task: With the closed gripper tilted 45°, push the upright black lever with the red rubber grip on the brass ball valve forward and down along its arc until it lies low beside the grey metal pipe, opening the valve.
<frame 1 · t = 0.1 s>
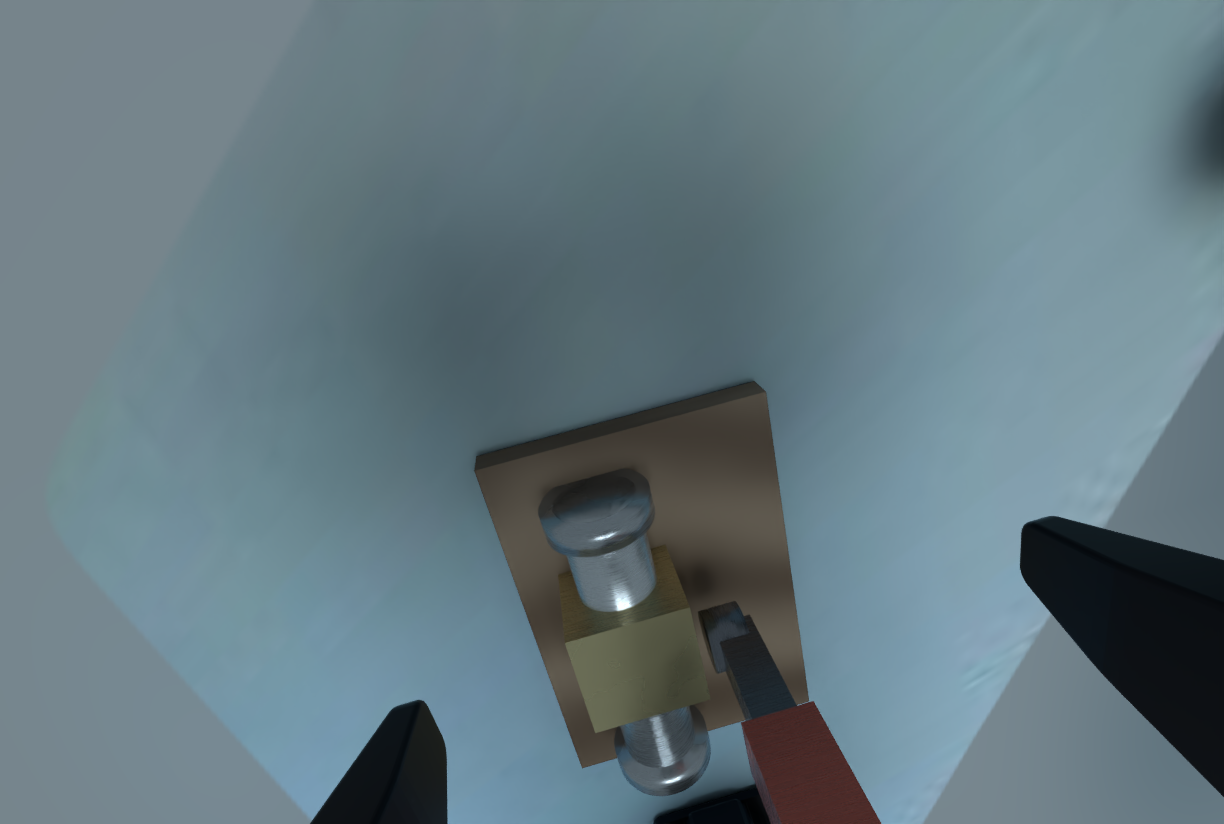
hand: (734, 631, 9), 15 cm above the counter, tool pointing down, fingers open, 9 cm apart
mounting board: (700, 561, 26), on the counter
valve body: (633, 640, 24), point 3 cm above the counter
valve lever: (779, 732, 18), point 9 cm above the counter, hinge at 0.0°
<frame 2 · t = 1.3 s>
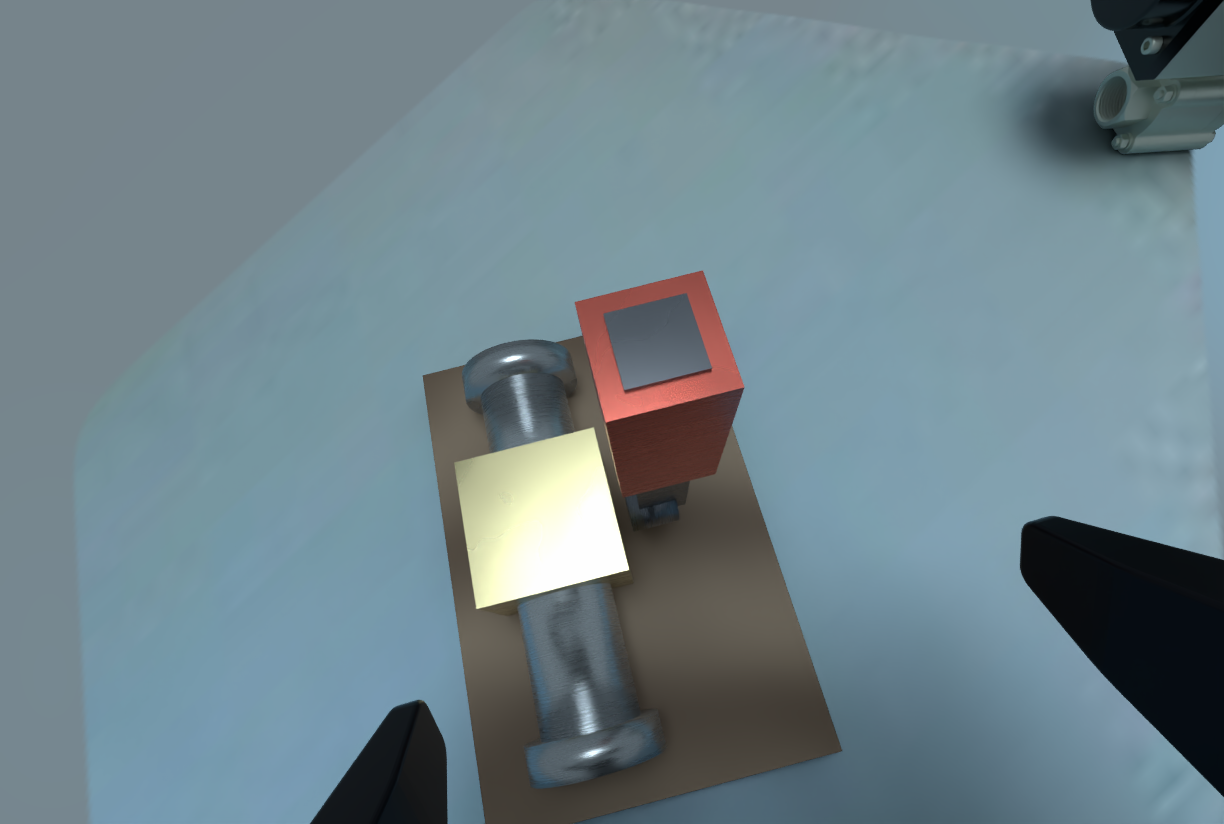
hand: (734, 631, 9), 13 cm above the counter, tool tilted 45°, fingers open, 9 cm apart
pneumatic valve: (1139, 123, 28), on the counter
mounting board: (656, 517, 23), on the counter
valve body: (552, 542, 20), point 3 cm above the counter
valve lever: (656, 444, 15), point 9 cm above the counter, hinge at 0.0°
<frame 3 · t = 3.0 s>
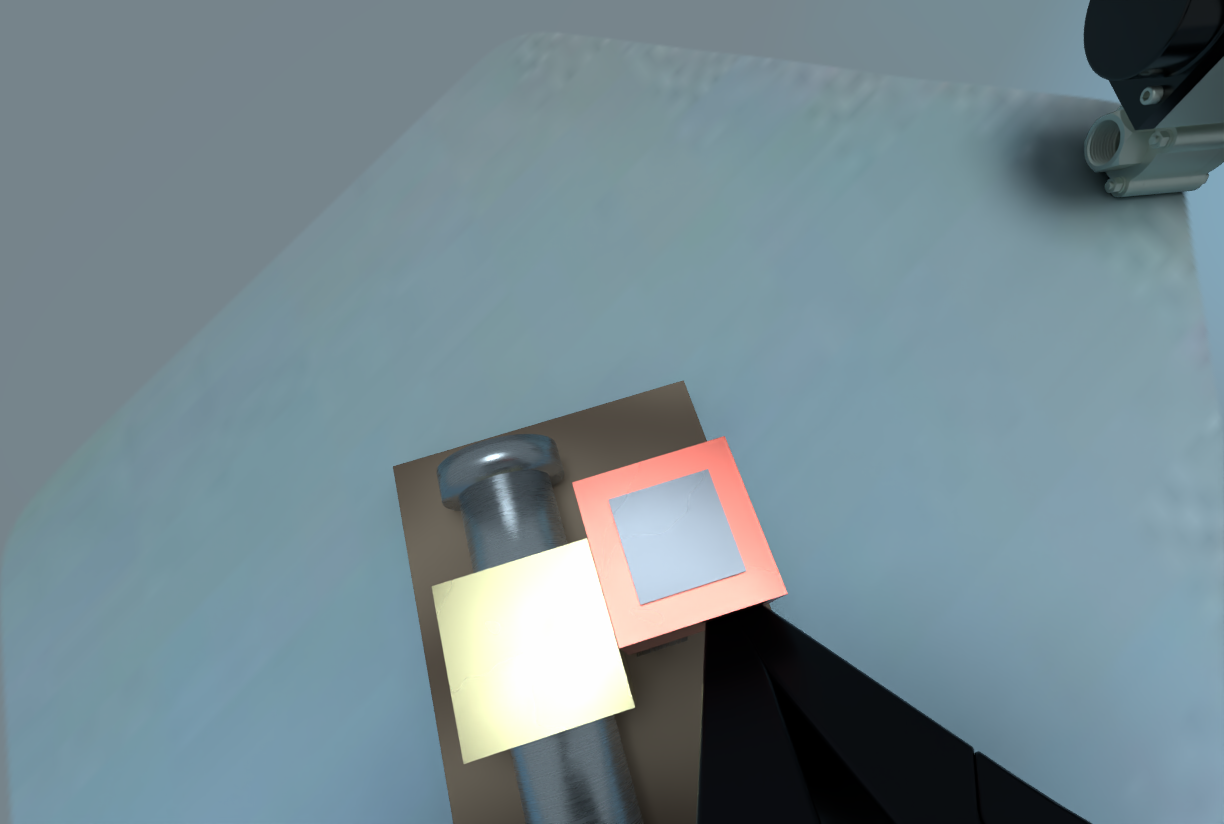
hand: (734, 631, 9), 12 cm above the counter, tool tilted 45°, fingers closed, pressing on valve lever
pneumatic valve: (1129, 163, 27), on the counter
mounting board: (656, 614, 21), on the counter
valve body: (545, 663, 18), point 3 cm above the counter
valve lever: (664, 584, 13), point 9 cm above the counter, hinge at 0.6°, touching gripper
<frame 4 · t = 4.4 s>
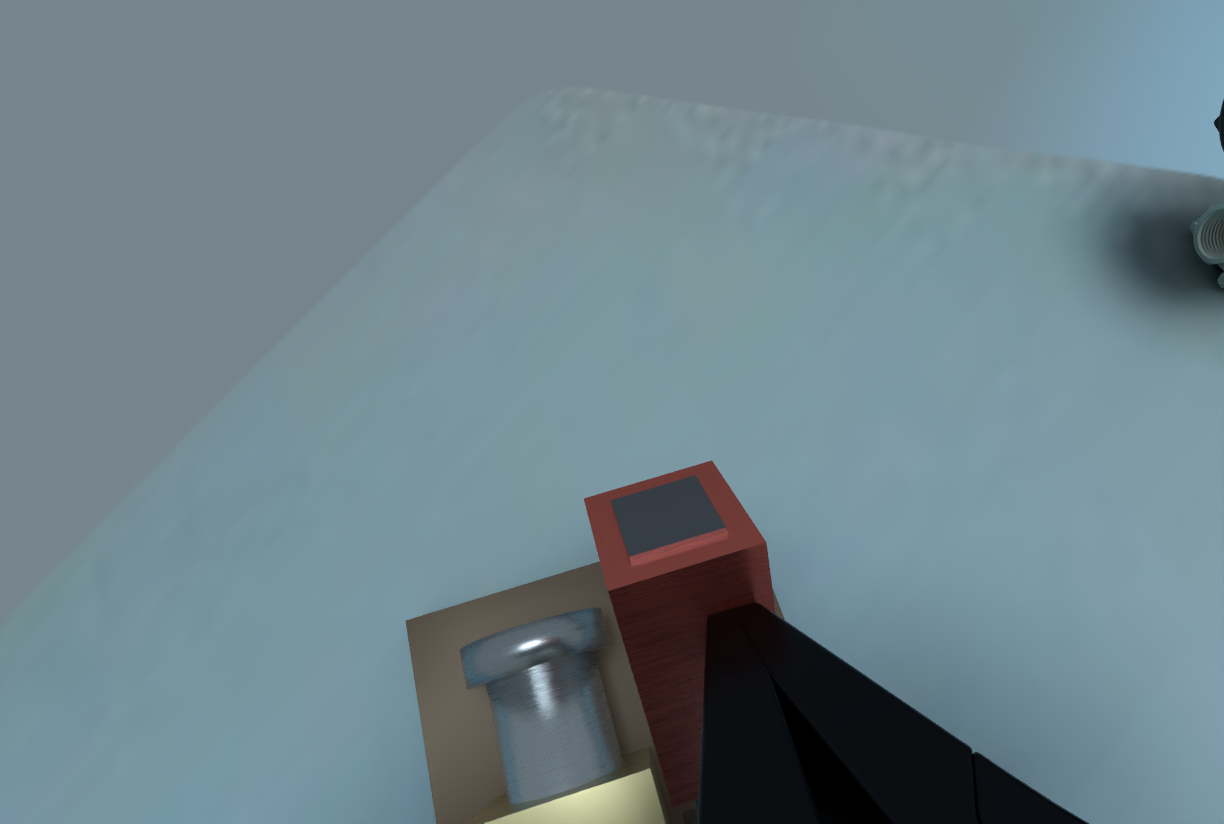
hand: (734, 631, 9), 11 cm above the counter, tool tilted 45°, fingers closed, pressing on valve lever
mounting board: (718, 810, 18), on the counter
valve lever: (715, 736, 11), point 8 cm above the counter, hinge at 40.6°, touching gripper
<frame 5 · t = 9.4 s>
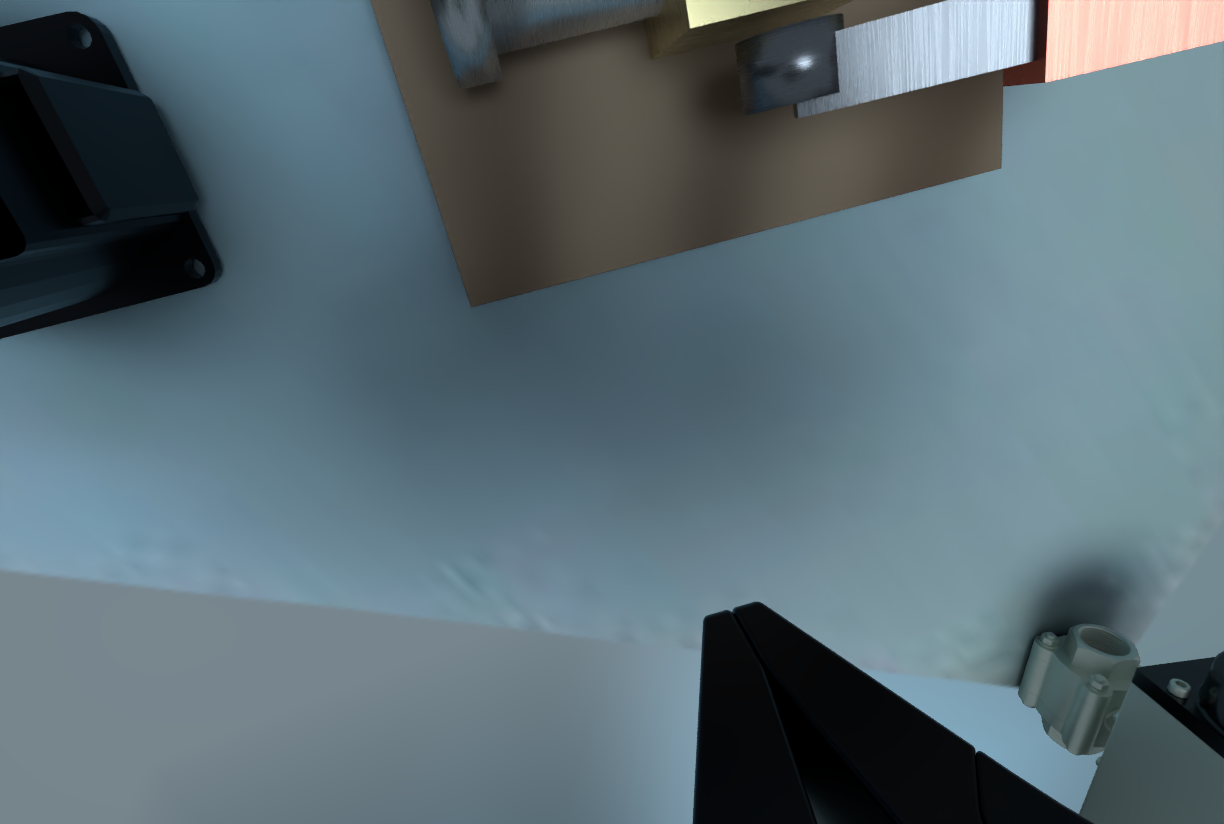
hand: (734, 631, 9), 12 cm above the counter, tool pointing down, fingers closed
pneumatic valve: (1059, 655, 28), on the counter
mounting board: (726, 103, 17), on the counter
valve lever: (1012, 26, 12), point 6 cm above the counter, hinge at 69.6°
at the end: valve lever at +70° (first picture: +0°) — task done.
